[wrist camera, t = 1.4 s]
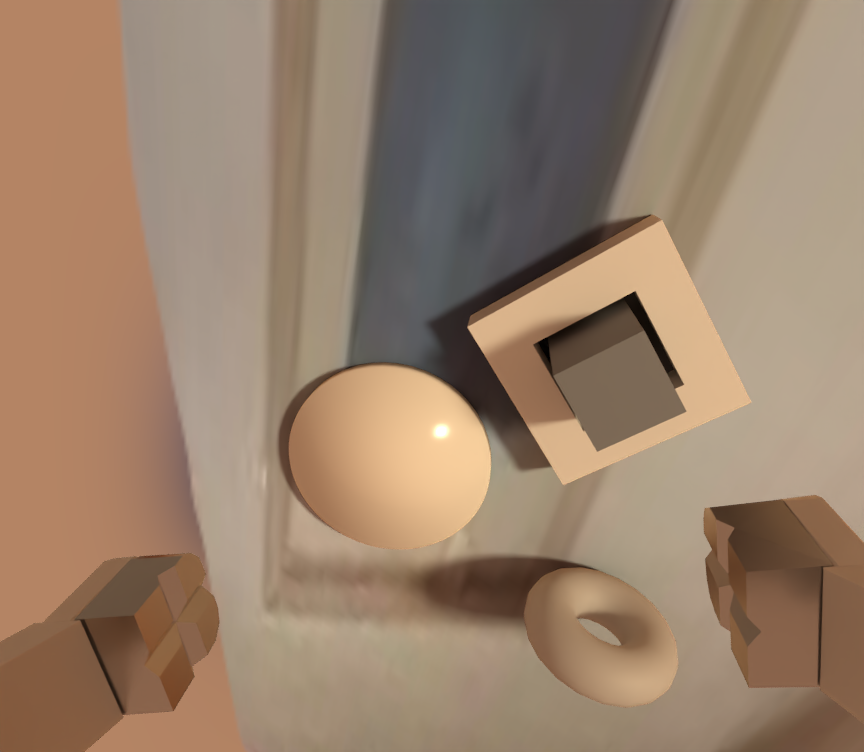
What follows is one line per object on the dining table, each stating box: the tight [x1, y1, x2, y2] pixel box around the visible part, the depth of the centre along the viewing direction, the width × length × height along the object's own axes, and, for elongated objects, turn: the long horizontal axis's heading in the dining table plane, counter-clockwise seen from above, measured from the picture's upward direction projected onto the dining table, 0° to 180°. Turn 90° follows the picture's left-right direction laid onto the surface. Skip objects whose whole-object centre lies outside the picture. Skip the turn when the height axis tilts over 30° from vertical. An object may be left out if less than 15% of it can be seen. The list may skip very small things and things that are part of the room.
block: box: [548, 298, 687, 452], centre depth 35 cm, size 5×5×7 cm
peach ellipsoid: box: [289, 362, 491, 549], centre depth 42 cm, size 14×14×1 cm
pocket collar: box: [467, 214, 751, 485], centre depth 37 cm, size 12×12×2 cm
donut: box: [524, 567, 678, 708], centre depth 40 cm, size 10×4×10 cm, turn 75°
